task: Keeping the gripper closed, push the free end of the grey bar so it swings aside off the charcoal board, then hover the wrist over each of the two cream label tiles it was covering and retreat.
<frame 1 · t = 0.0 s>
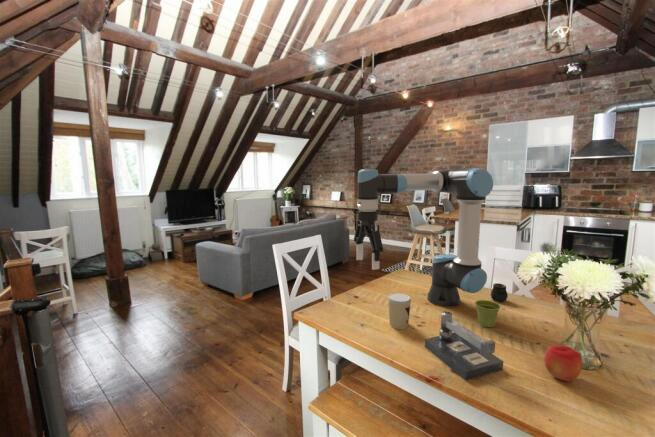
hand: (367, 264, 120), 28 cm above the table, fingers open, 13 cm apart
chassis: (461, 357, 106), on the table
coffee cup: (398, 324, 130), on the table
grey bar: (464, 332, 104), point 10 cm above the table, hinge at 0.0°
mate gourd: (498, 301, 152), on the table
plant pot: (486, 324, 129), on the table
apple: (560, 378, 95), on the table
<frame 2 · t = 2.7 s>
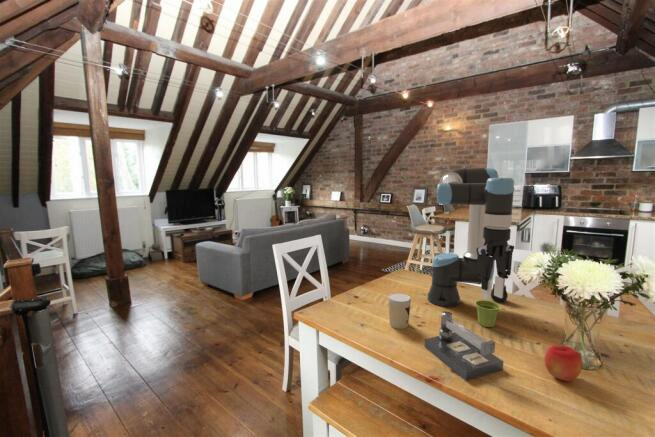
hand: (492, 297, 100), 23 cm above the table, fingers open, 4 cm apart
nothing on the table moved.
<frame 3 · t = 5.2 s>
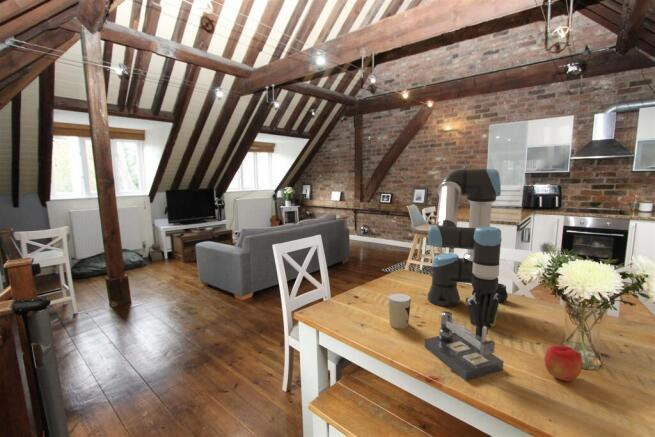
hand: (480, 344, 101), 7 cm above the table, fingers closed
grey bar: (463, 332, 104), point 10 cm above the table, hinge at -0.5°, touching gripper
everything else where it was.
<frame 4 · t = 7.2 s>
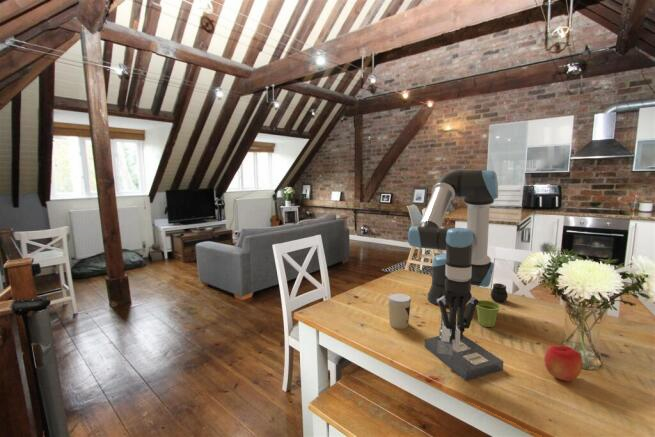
hand: (455, 347, 100), 7 cm above the table, fingers closed
grey bar: (445, 332, 104), point 10 cm above the table, hinge at -41.8°, touching gripper
everything else where it was.
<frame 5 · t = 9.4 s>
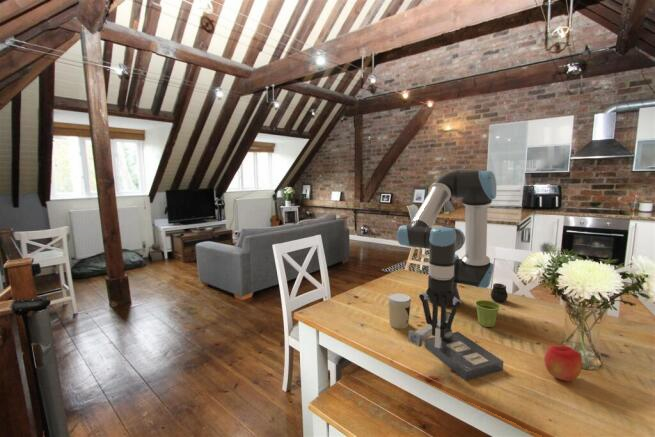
hand: (437, 345, 101), 7 cm above the table, fingers closed
grey bar: (432, 328, 107), point 10 cm above the table, hinge at -71.9°
everything else where it was.
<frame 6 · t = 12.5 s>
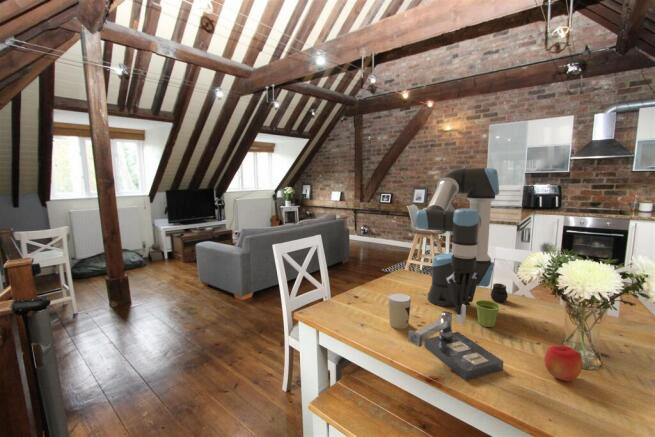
hand: (460, 322, 106), 12 cm above the table, fingers closed
nothing on the table moved.
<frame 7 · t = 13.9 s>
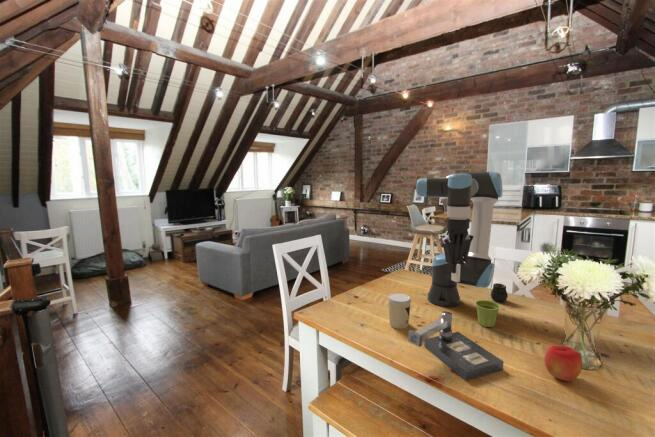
hand: (455, 280, 113), 24 cm above the table, fingers closed
nothing on the table moved.
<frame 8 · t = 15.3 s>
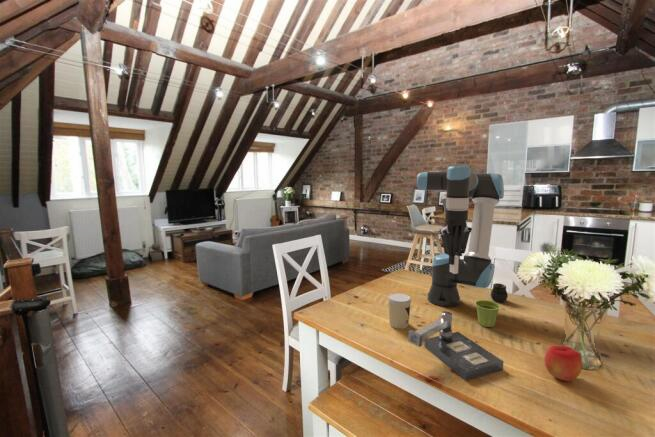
hand: (453, 272, 114), 26 cm above the table, fingers closed
nothing on the table moved.
at the end: grey bar at -72° (first picture: +0°) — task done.
